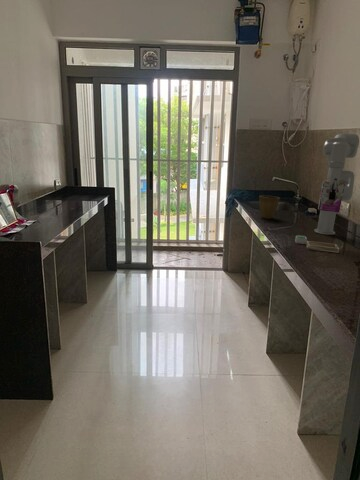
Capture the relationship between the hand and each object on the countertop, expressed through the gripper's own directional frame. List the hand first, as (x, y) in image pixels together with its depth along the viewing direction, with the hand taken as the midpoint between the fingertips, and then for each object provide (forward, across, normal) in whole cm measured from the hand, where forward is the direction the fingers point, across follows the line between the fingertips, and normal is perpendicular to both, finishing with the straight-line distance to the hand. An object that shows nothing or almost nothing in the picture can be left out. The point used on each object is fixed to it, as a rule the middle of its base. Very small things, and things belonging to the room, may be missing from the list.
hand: (330, 198), depth 199 cm
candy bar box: (+7, 0, 0) cm, 7 cm away
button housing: (+26, +5, -13) cm, 29 cm away
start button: (+25, +5, -13) cm, 29 cm away
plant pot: (+25, -60, -32) cm, 73 cm away
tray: (+26, +13, -2) cm, 29 cm away
